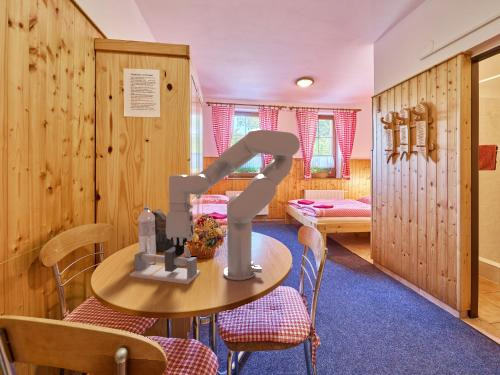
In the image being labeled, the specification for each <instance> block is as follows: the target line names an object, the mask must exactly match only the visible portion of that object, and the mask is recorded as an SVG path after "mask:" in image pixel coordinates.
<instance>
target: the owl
mask: <svg viewBox="0 0 500 375" xmlns="http://www.w3.org/2000/svg"><path fill="white" fill-rule="evenodd" d="M151 212H152V213H153V214H154V216H155V234H156V235H155V236H156V253H159V254H160V253H161V254H162V253H165V251H167V250H169V249H170V248H172V247H175V245H174V242H173V241H172V240H170V239H167V235H166V218H167V214H166V213H165V212H163V210H161V208H158V209H154V210H152V211H151Z"/></svg>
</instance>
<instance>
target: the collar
mask: <svg viewBox="0 0 500 375" xmlns="http://www.w3.org/2000/svg"><path fill="white" fill-rule="evenodd" d="M164 256H165V264H164V266H165V271H168V272H173V271H174V270H175V269H177V268H180V267H181V266H180V265H174V259H173V258H174V257H181V256H177V255H176V252H175V247H172V248H170V249H169V250H167V251H164Z"/></svg>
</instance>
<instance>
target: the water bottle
mask: <svg viewBox="0 0 500 375" xmlns="http://www.w3.org/2000/svg"><path fill="white" fill-rule="evenodd" d="M149 208H150V207H149V206H144V207H143V211H142V212H141V213H140V214H139V215H138V217H137V222H138V250H139V251H138V253H140V252H145V254H153V255H157V252H156V236H155V235H156V234H155V216H154V214H153V213H152V211H150V210H149ZM146 264H149V265H156V263H153V262H146Z"/></svg>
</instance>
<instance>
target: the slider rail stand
mask: <svg viewBox="0 0 500 375" xmlns="http://www.w3.org/2000/svg"><path fill="white" fill-rule="evenodd" d="M173 259H174V265H180V266H179V267H178V268H177V269H175V270H174V271H173V272H168V271H165V255H161V254H156V255H153V254H145V252H140V253H139V252H138V253H135V254H134V271H132V272H130V273H129V277H131V278H140V279H146V280H153V281H162V282H163V281H164V282H169V283H176V284H185V285H189V284H190V283H191V282H192V281H193V280H195V279H196V277H198V276H199V275H200V274H201V270H200V269H199V270H198V267H197V266H198V264H197V263H198V261H197V260H198V258H197V257H181V256H180V257H174V258H173ZM146 262H153V263H155V264H153V265H149V264H146ZM156 264H163V265H156ZM181 266H183V267H186V268H183V267H181Z"/></svg>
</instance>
